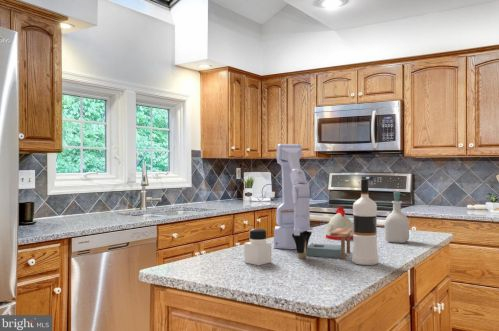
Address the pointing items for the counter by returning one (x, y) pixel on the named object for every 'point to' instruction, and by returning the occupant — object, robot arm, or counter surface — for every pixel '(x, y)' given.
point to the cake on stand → (339, 224)
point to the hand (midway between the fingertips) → (302, 251)
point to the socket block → (324, 250)
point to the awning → (343, 239)
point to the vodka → (365, 229)
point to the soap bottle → (396, 223)
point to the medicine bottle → (257, 248)
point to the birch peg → (302, 255)
